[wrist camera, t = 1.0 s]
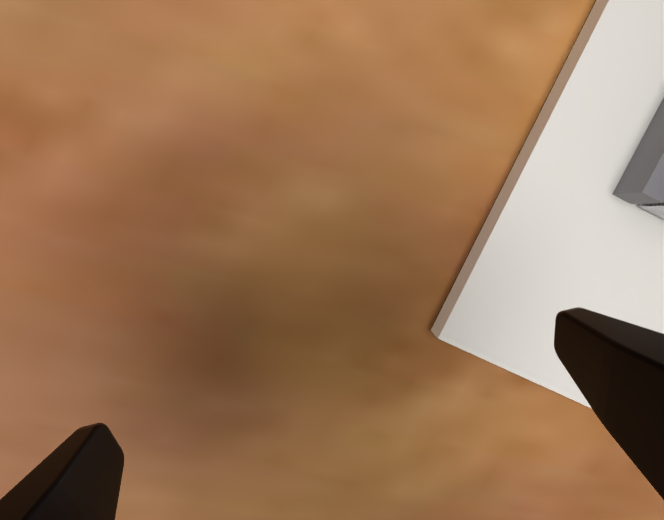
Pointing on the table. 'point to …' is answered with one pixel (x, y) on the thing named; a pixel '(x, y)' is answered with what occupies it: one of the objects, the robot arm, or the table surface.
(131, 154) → the table surface
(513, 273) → the base
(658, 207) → the bolt
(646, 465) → the robot arm
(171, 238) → the table surface
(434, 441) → the table surface
